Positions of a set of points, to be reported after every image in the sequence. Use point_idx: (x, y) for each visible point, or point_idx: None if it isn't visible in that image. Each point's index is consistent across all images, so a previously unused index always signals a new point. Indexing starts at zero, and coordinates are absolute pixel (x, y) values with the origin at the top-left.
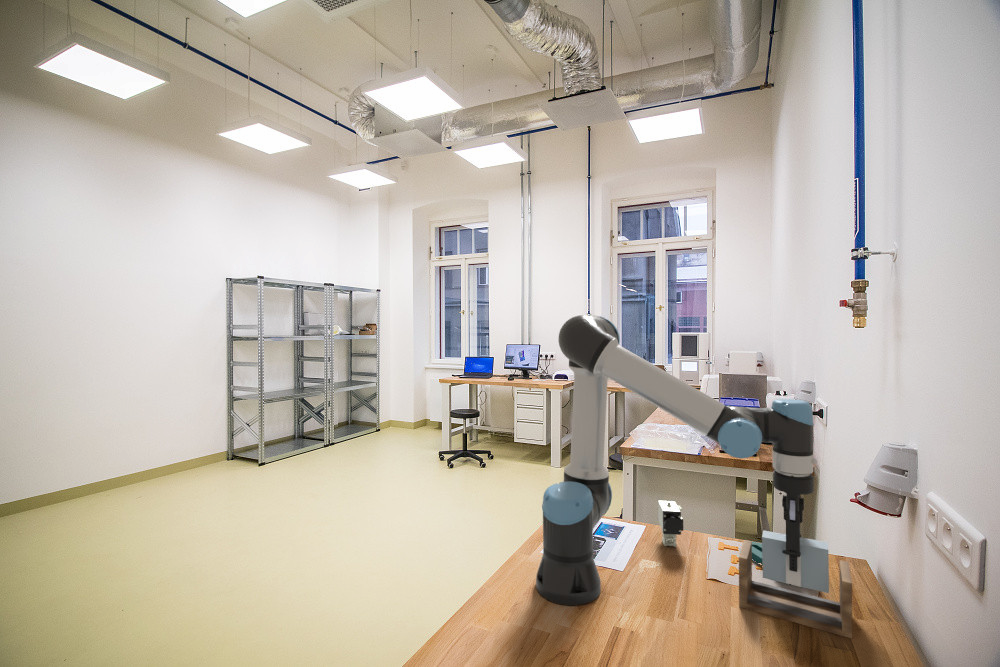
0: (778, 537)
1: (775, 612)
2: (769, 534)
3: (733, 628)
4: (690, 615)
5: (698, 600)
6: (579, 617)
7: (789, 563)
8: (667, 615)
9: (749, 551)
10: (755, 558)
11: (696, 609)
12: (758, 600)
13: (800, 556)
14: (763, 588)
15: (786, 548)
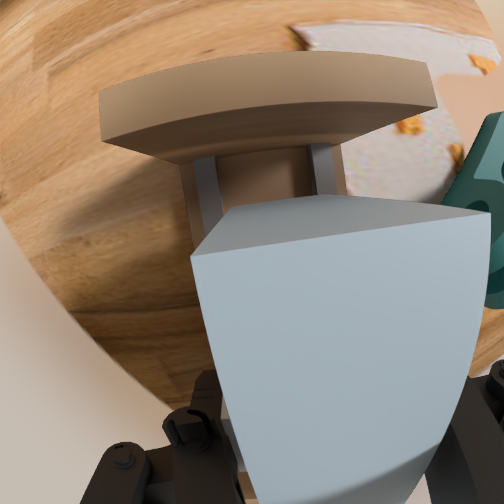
0: (339, 433)
1: (194, 249)
2: (391, 332)
3: (70, 173)
4: (66, 78)
5: (141, 51)
6: (4, 4)
7: (191, 400)
8: (46, 52)
9: (280, 107)
10: (481, 141)
11: (96, 71)
12: (198, 195)
13: (240, 468)
14: (314, 187)
15: (93, 481)
